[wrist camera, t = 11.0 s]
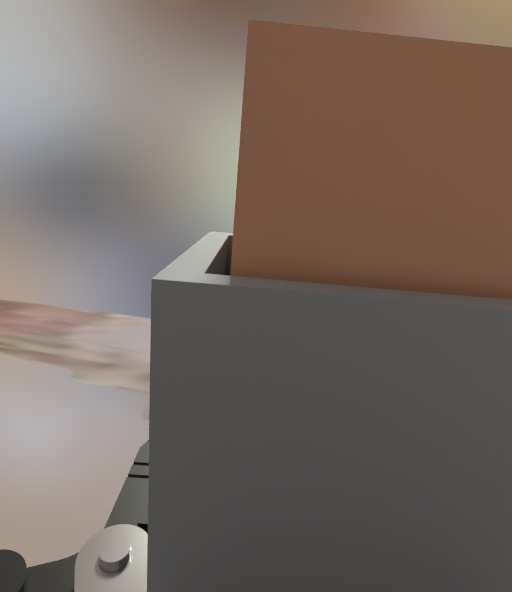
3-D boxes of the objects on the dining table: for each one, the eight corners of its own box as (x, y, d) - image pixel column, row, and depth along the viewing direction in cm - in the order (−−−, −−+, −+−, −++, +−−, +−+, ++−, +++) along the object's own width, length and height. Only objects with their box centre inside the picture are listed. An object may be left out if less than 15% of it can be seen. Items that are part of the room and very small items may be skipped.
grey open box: (141, 923, 7) (151, 278, 4) (188, 615, 13) (210, 231, 9) (417, 932, 8) (656, 321, 4) (349, 624, 13) (427, 250, 10)
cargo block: (224, 356, 5) (248, 19, 4) (236, 287, 9) (250, 106, 8) (509, 378, 5) (603, 56, 4) (399, 300, 9) (434, 124, 8)
